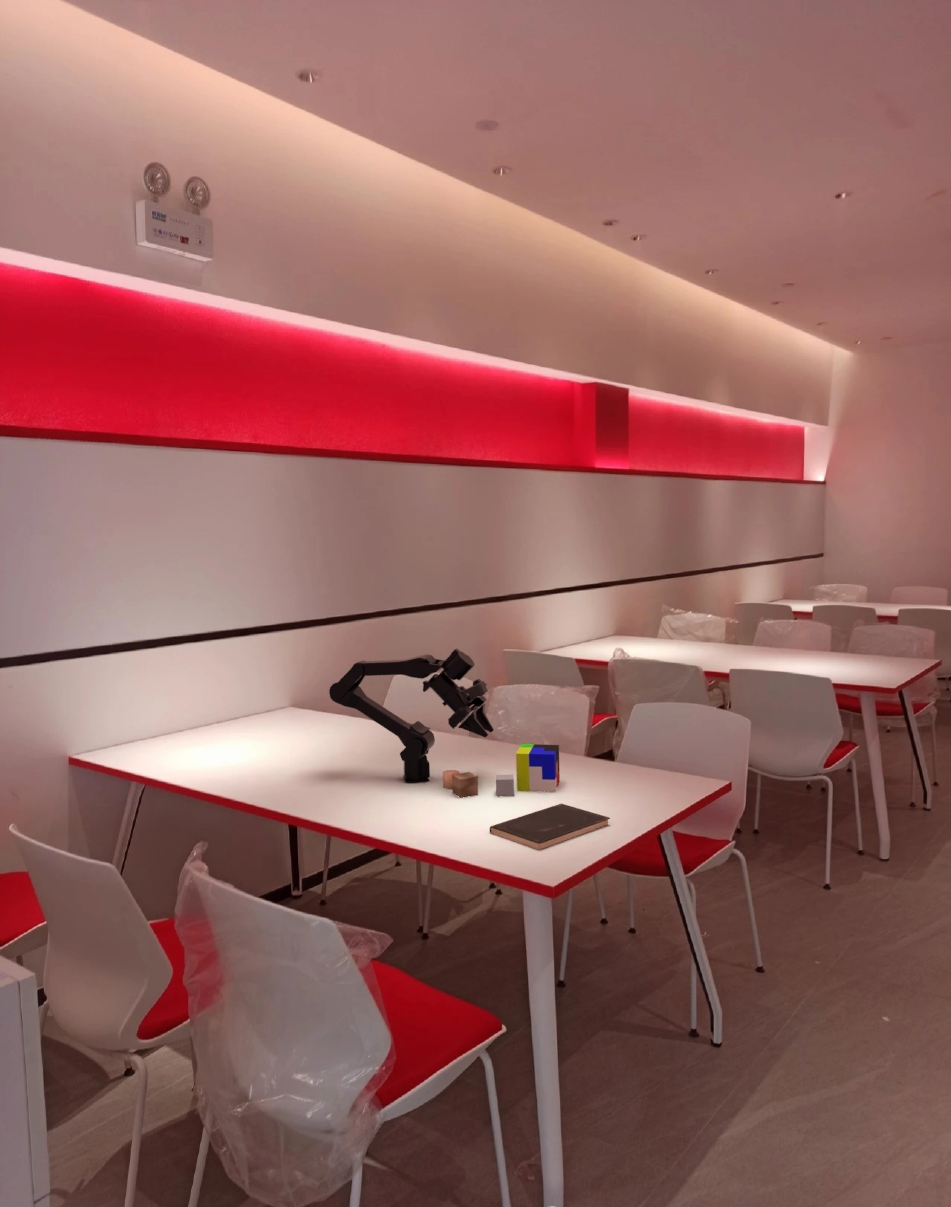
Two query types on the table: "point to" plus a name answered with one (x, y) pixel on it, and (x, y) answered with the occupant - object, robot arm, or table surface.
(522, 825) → the hardcover book
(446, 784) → the terracotta cylinder
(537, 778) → the puzzle toy
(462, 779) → the walnut block
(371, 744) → the table surface
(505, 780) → the slate block
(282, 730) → the table surface
